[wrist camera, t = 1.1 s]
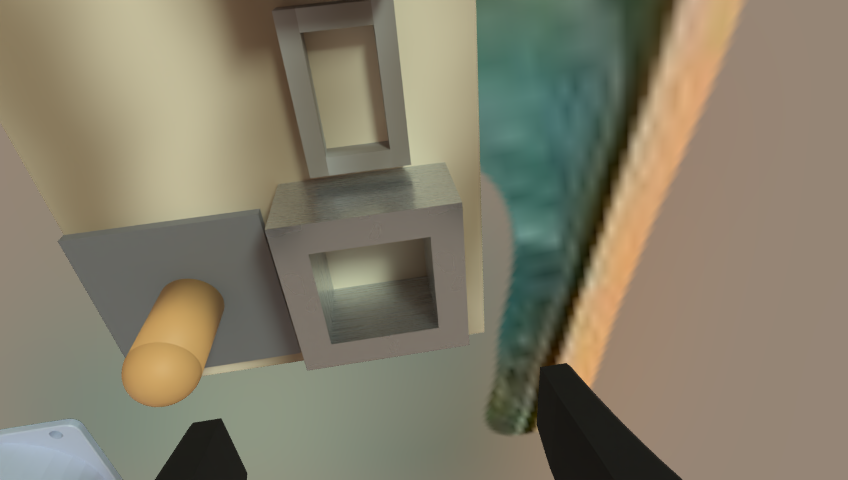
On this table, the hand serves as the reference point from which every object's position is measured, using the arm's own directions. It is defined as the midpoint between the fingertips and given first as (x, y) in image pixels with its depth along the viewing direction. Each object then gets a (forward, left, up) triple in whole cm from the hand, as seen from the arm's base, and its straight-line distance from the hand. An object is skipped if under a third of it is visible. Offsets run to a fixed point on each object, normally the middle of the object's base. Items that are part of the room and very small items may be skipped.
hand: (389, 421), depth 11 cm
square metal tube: (0, 0, -8) cm, 8 cm away
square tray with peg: (-7, -1, -9) cm, 11 cm away
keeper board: (-3, +4, -9) cm, 10 cm away
